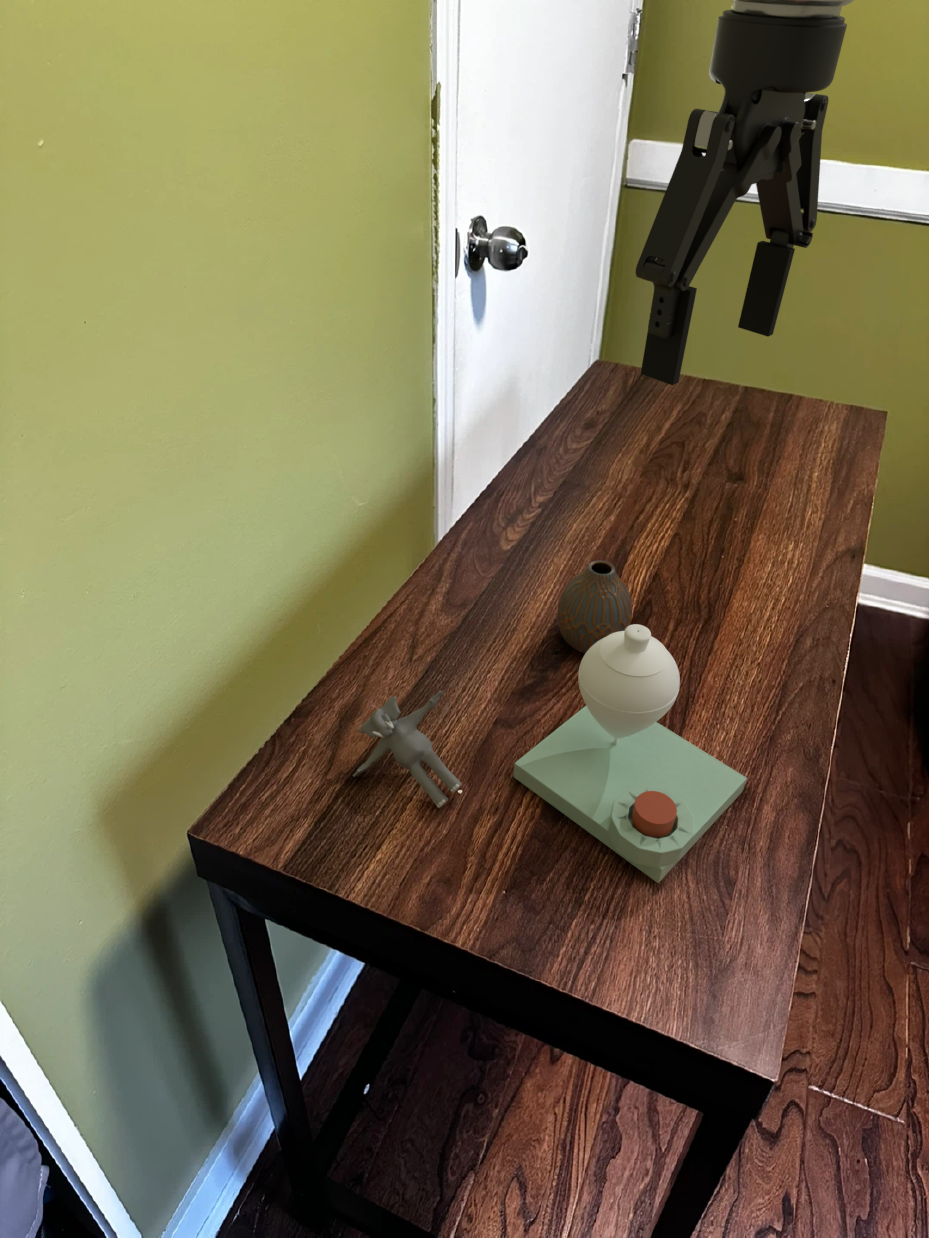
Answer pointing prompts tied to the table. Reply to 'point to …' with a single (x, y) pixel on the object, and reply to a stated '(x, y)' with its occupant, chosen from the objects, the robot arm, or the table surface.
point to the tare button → (654, 814)
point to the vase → (593, 606)
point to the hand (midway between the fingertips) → (710, 353)
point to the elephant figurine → (408, 746)
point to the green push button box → (629, 786)
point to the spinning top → (628, 681)
